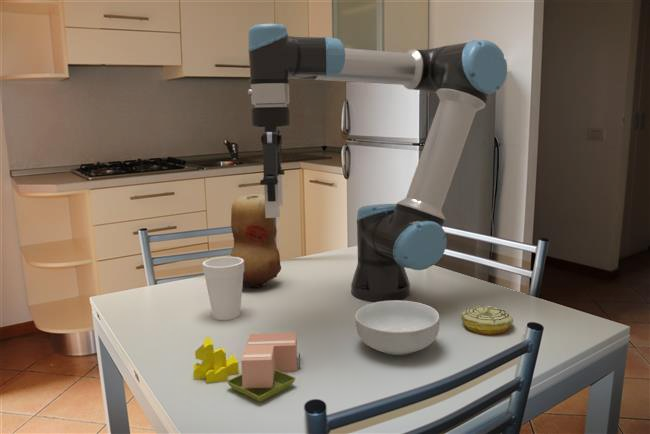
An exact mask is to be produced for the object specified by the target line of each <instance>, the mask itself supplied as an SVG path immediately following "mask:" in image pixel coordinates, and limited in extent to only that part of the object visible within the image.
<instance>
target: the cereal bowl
mask: <svg viewBox="0 0 650 434" xmlns="http://www.w3.org/2000/svg"><path fill="white" fill-rule="evenodd" d="M354 316H355V317H354V319H355V320H354V323H355V328H356V332H357V333H356V334H357V335H358V337H359V338H360V340H361V341H362V342H363V343H364V344H365V345H366V346H368V347H370V348H372V349H374V350H376V351H379V352H382V353H384V354H387V355H391V356H406V355H410V354H413V353H415V352H417V351H421V350H423V349H426V348H427V347H428V346H430V345H431V344H432V343H433V342H434V340H435V339H436V337H438V335H439V331H440V324H441V323H440V314H439V312H438V311H437V310H436V309H435V308H433V306H430V305H427V304H424V303H421V302H418V301H417V302H416V301H410V300H402V299H399V300H391V301H374V302H372V303H368V304H366V305H364V306H362V307H359V309H357V311H356V312H355V315H354Z"/></svg>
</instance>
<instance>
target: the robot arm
mask: <svg viewBox="0 0 650 434" xmlns="http://www.w3.org/2000/svg"><path fill="white" fill-rule="evenodd" d="M247 51H248V61H249V62H248V63H249V75H250V89H248V91H247V94H248V95H251V97H250V99H251V101H250V102H251V105H253V106H254V107H253V108H252V109H251V122H252V123H251V125H252V127H258V128H259V127H262V128H264V131H263V132H262V136H261V137H260V142H261V147H262V149H261V151H262V157H263V158H262V159H263V164H262V165H263V177H262V179H259V180H260V181H259V183H260V185H261V186H262V185H263V188H264V189H263V190H264V195H265V217H266V218H274V219H275V218H276V219H277V218H278V219H279V218H280V213H281V212H280V207H281V206H283V205H284V204H283V180H282V175H285V169H283V168H282V167H283V166H282V161H281V153H282V144H283V137H282V134H281V133H280V129H279V128H278V127H288V126H289V125H291V124H290V123H291V119H290V118H291V117H290V108H289V107H288V106H287V105H289V104H290V84H289V83H290V82H289V81H291V80H292V81H293V80H307V81H308V80H309V81H310V80H311V81H312V80H313V81H330V82H331V81H332V82H348V83H364V84H365V83H367V84H381V85H383V84H384V85H386V84H387V85H402V86H404V88H405V89H406V90H414V91H423V92H427V93H428V92H429V93H435V94H436V95H437V97H438V99H439V104H438V106H437V109H436V111H435V114H434V117H433V120H432V123H431V126H430V129H429V130H428V131H429V132H428V134H427V136H426V139H425V143H424V146H423V148H422V152H421V154H420V157H419V160H418V163H417V166H416V169H415V171H414V174H413V177H412V179H411V182H410V185H409V188H408V191H407V194H406V196H405V198H404V199H401V200H399V201H398V202H396V203H381V204H371V205H370V204H369V205H365V206H364V205H362V206H361V207H359V208H358V210H357V213H356V216H357V217H356V231H357V233H356V236H357V237H356V239H357V241H356V242H357V243H356V244H357V245H356V246H357V264H356V269H355V271H354V274H353V277H352V280H351V284H350V285H351V286H350V289H351V292H350V293H351V294H352V296H354V297H355V298H358V299H360V300H364V301H369V302H381V301H391V300H403V299H405V298H407V297H408V296H409V295H410V293H411V285H410V281H409V278H408V277H409V276H408V275H407V271H406V269H411V270H413V271H423V270H427V269H429V268H431V267H432V266H435V265H436V264H437V263H438V262H439V261H440V259H442V257H443V255H444V253H445V251H446V249H447V244H448V240H447V236H446V232H445V229H444V228H443V227H444V223H445V220H446V218H445V216H444V214H443V210H442V208H443V206H444V204H445V201H446V198H447V195H448V192H449V189H450V186H451V184H452V181H453V179H454V178H453V177H454V174H455V172H456V170H457V168H458V164H459V161H460V158H461V155H462V152H463V150H464V147H465V145H466V144H465V143H466V141H467V138H468V135H469V133H470V129H471V127H472V124H473V121H474V119H475V116H476V113H477V112H478V111H480V110H483V109H485V107H486V104H487V102H488V100H489V96H490V94H493V93H495V92H497V91H499V90H500V89H501V88H502V87H503V85H504V84H505V82H506V80H507V79H506V78H507V75H508V63H507V62H508V61H507V59H505V54H504V52H503V50H502V49H501V48H500V47H499V45H497V44H496V43H495V42H493V41H490V40H484V39H483V40H475V39H474V40H471V41H468V42H461V43H455V44H451V45H450V44H449V45H444V46H439V47H434V48H428V49H427V48H426V49H415V48H414V49H410V50H407V52H397V51H396V52H395V51H387V50H386V51H385V50H384V51H383V50H373V49H372V50H371V49H370V50H369V49H360V48H359V49H358V48H348V47H345V46H344V44H343V42H342V41H341V39H339V38H335V37H334V38H333V37H327V36H324V37H320V36H319V37H318V36H311V37H310V36H291V35H289V34H288V29H287V27H286V26H285V25H284V24H278V23H260V24H255V25H253V26H251V27H250V28H249V30H248V49H247Z"/></svg>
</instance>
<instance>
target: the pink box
mask: <svg viewBox="0 0 650 434" xmlns="http://www.w3.org/2000/svg"><path fill="white" fill-rule="evenodd" d="M240 361H241V362H240V363H241V364H240V365H241V366H240V367H241V374H242V384H243V388H271V387H273V381H274V374H275V359H274V345H247V344H246V345H245V346H244V350H243V352H242V357H241V360H240Z"/></svg>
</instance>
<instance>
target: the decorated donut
mask: <svg viewBox="0 0 650 434" xmlns="http://www.w3.org/2000/svg"><path fill="white" fill-rule="evenodd" d="M461 321H462V324H463V325H464V327H465V328H466V329H467V330H469V331H471V332H473V333H475V334H476V333H477V334H481V335H491V336H493V335H497V334H504V333H506V332H507V331H508V330H509V328H510V327H511V325H512V324H513V322H514V318H513V317H512V314H510V313H509V312H508V311H506V310H504V309H503V308H499V307H496V306H492V305H479V306H478V305H477V306H473V307H469V308H466V309H465V310H463V311H462V312H461Z"/></svg>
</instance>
